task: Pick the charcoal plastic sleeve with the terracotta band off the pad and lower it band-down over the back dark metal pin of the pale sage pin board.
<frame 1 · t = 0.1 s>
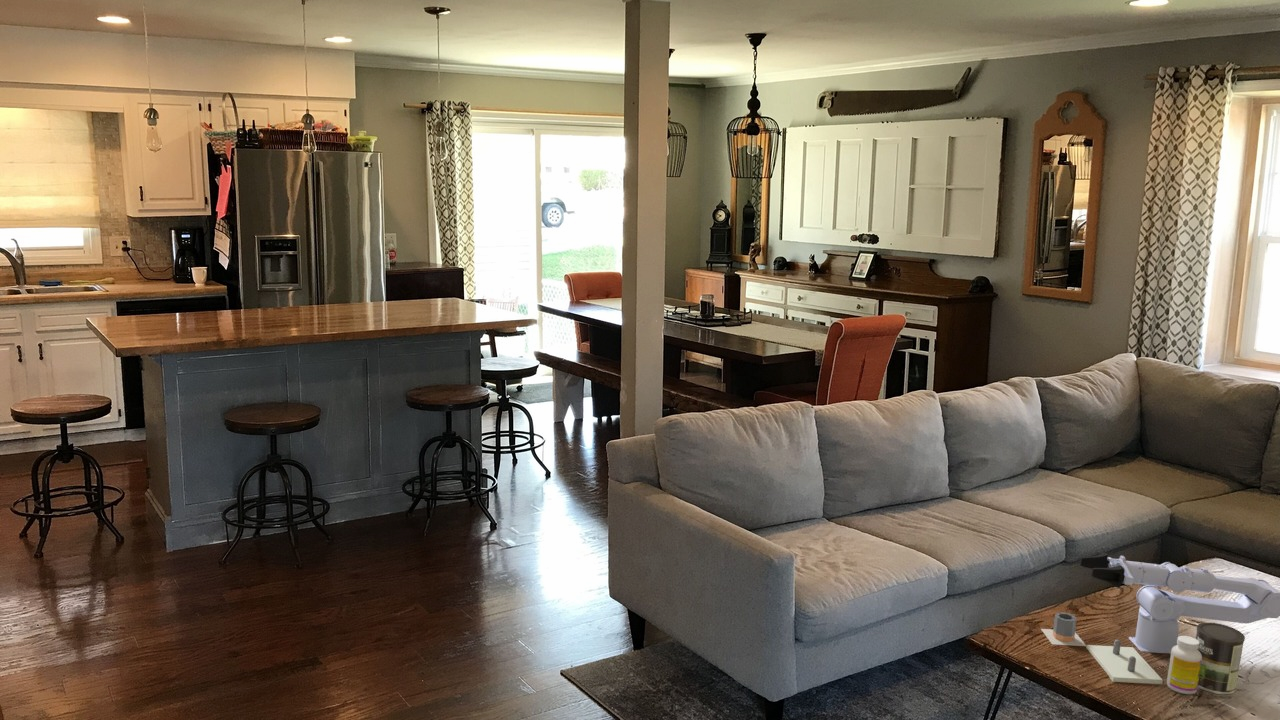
hand: (1086, 566, 263), 22 cm above the table, tool horizontal, fingers open, 7 cm apart
sleeve: (1063, 637, 269), resting on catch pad
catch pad: (1063, 638, 269), on the table
pin board: (1122, 666, 255), on the table
coffee can: (1212, 685, 247), on the table
supplement bottle: (1181, 689, 245), on the table
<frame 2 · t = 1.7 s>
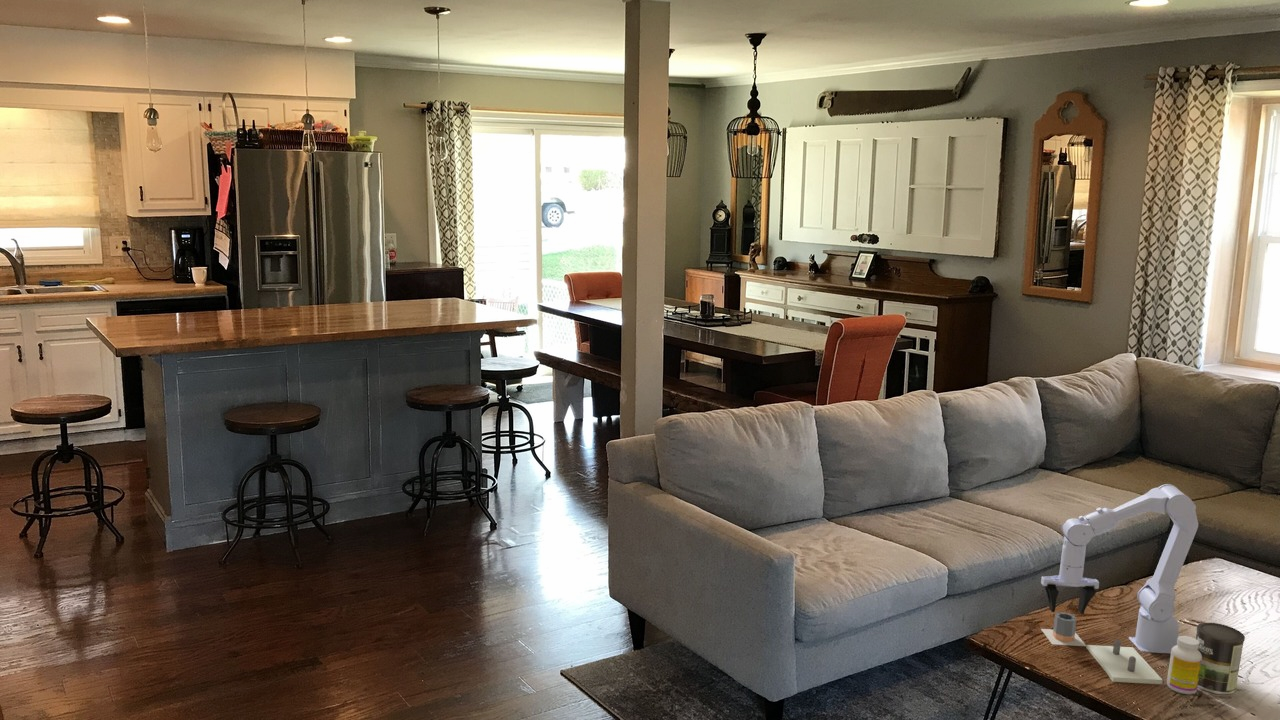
hand: (1066, 611, 267), 8 cm above the table, tool pointing down, fingers open, 7 cm apart
nothing on the table moved.
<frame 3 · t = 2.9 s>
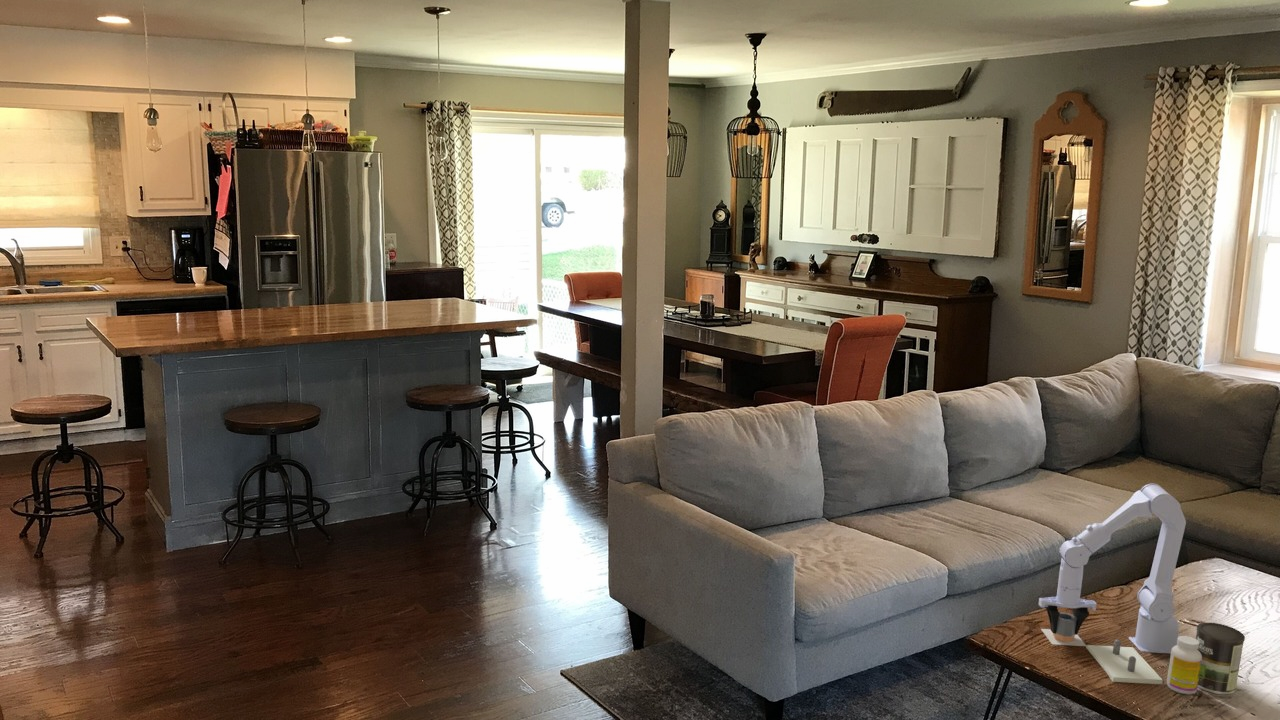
hand: (1063, 632, 269), 2 cm above the table, tool pointing down, fingers closed on sleeve, 5 cm apart
sleeve: (1063, 637, 269), resting on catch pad, touching gripper
everything else where it was.
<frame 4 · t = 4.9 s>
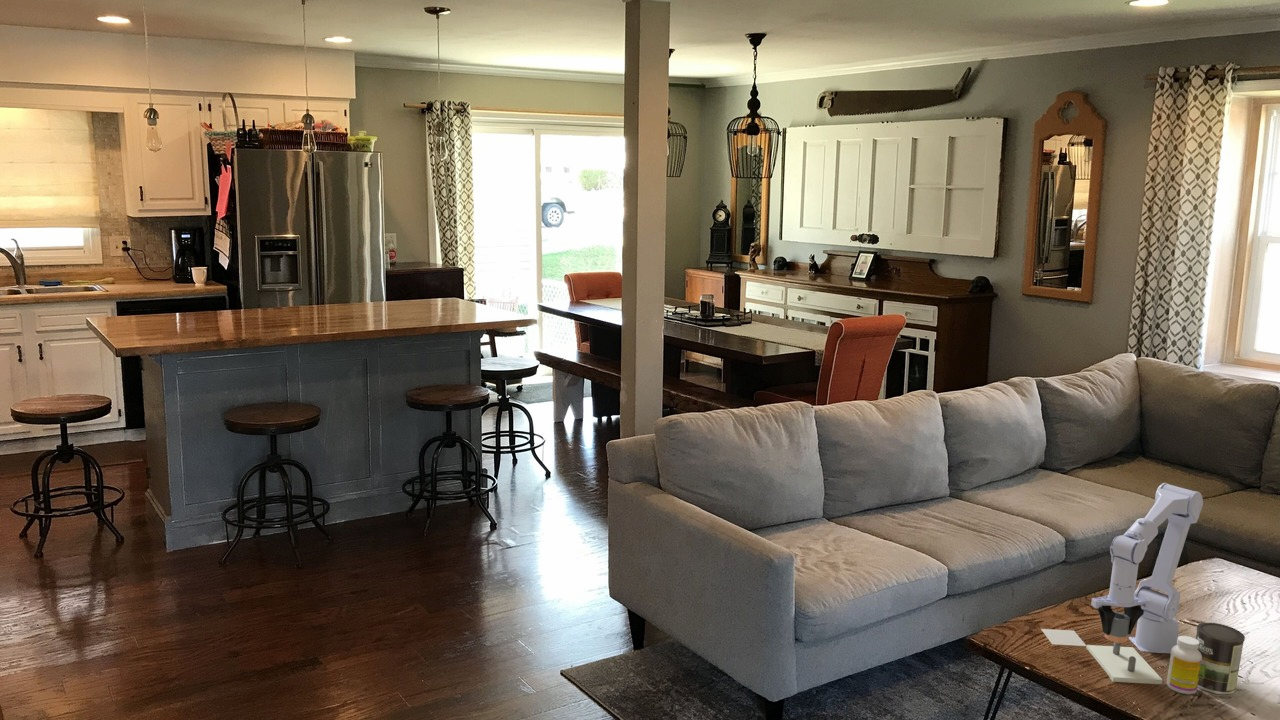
hand: (1116, 633, 253), 9 cm above the table, tool pointing down, fingers closed on sleeve, 5 cm apart
sleeve: (1115, 638, 254), point 8 cm above the table, touching gripper
everything else where it was.
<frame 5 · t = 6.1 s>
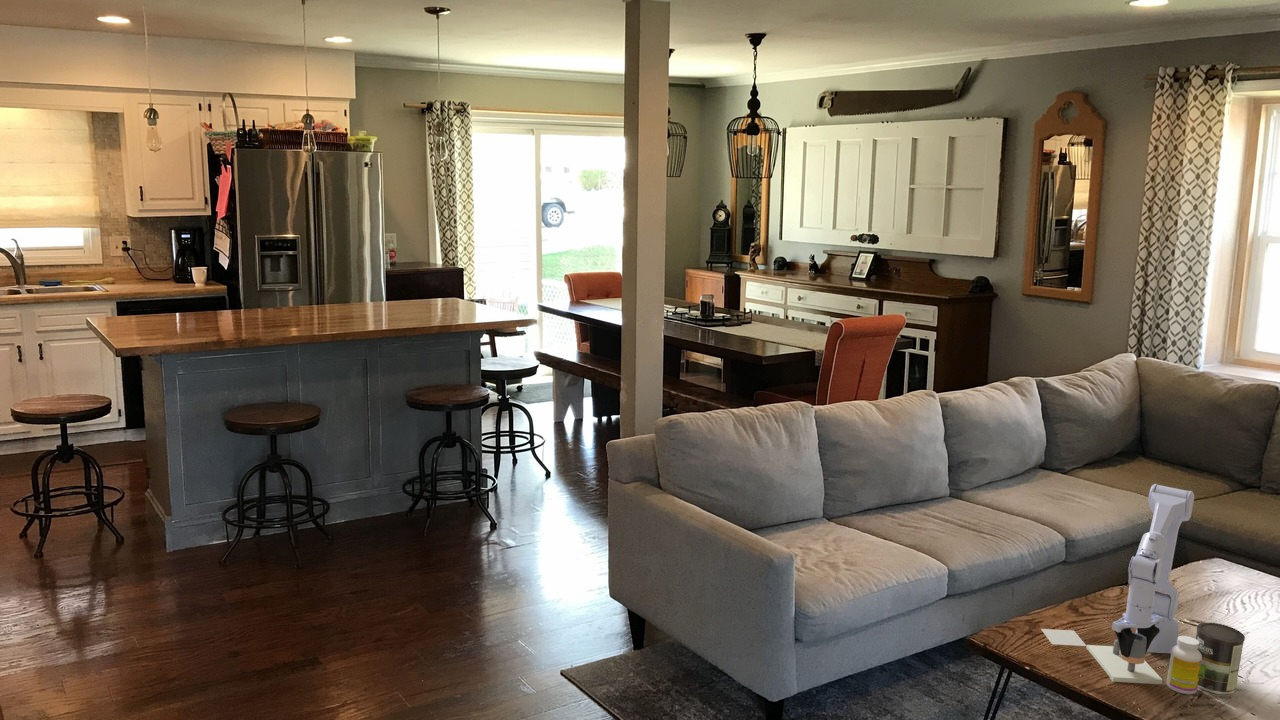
hand: (1133, 653, 249), 6 cm above the table, tool pointing down, fingers closed on sleeve, 5 cm apart
sleeve: (1132, 659, 250), point 4 cm above the table, touching gripper
everything else where it was.
when the fingers open (4 cm above the table, at t = 7.1 s): sleeve stays where it is, resting on pin board.
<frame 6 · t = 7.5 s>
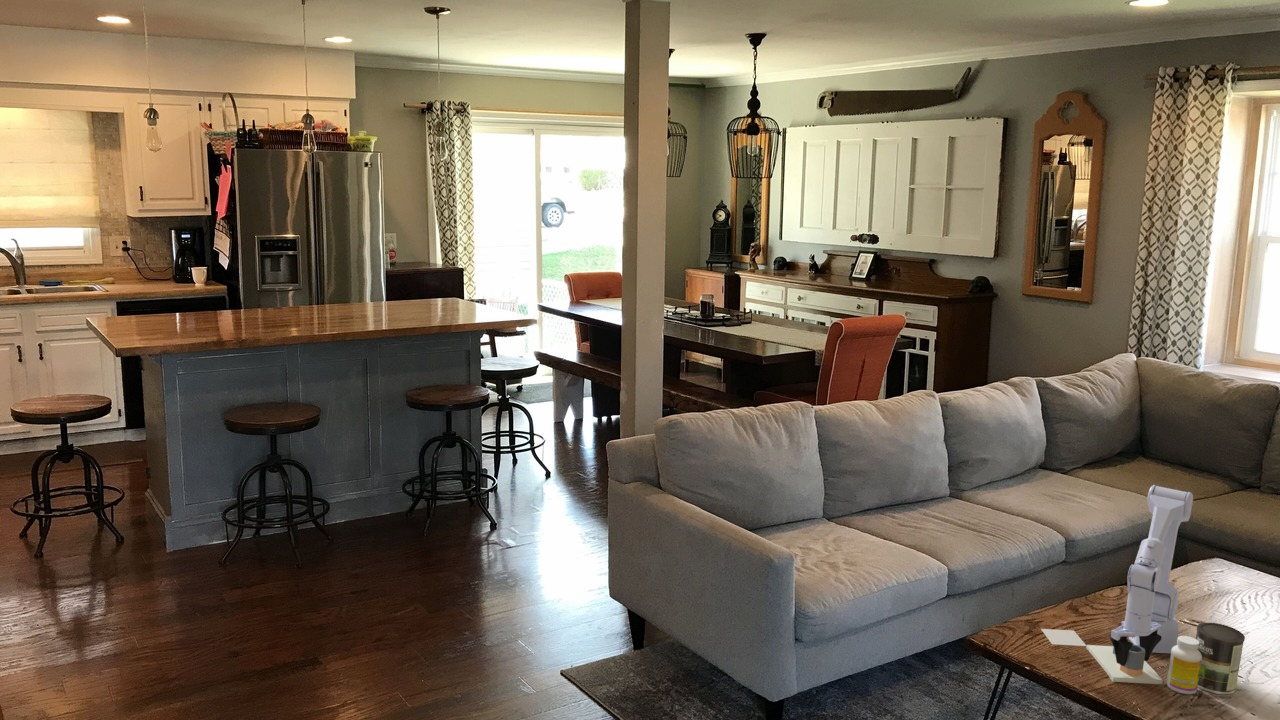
hand: (1132, 661, 250), 4 cm above the table, tool pointing down, fingers open, 7 cm apart
sleeve: (1130, 670, 250), point 1 cm above the table, touching pin board
everything else where it was.
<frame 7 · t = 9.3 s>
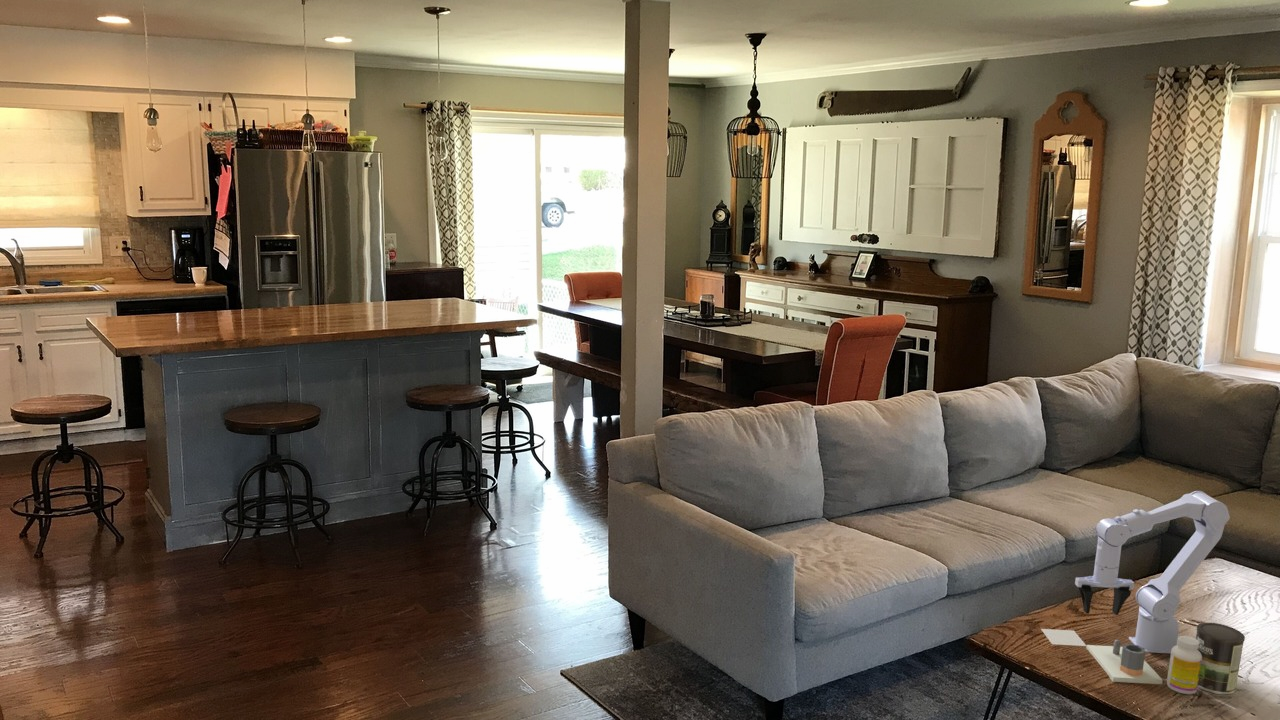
hand: (1100, 612, 264), 9 cm above the table, tool pointing down, fingers open, 7 cm apart
nothing on the table moved.
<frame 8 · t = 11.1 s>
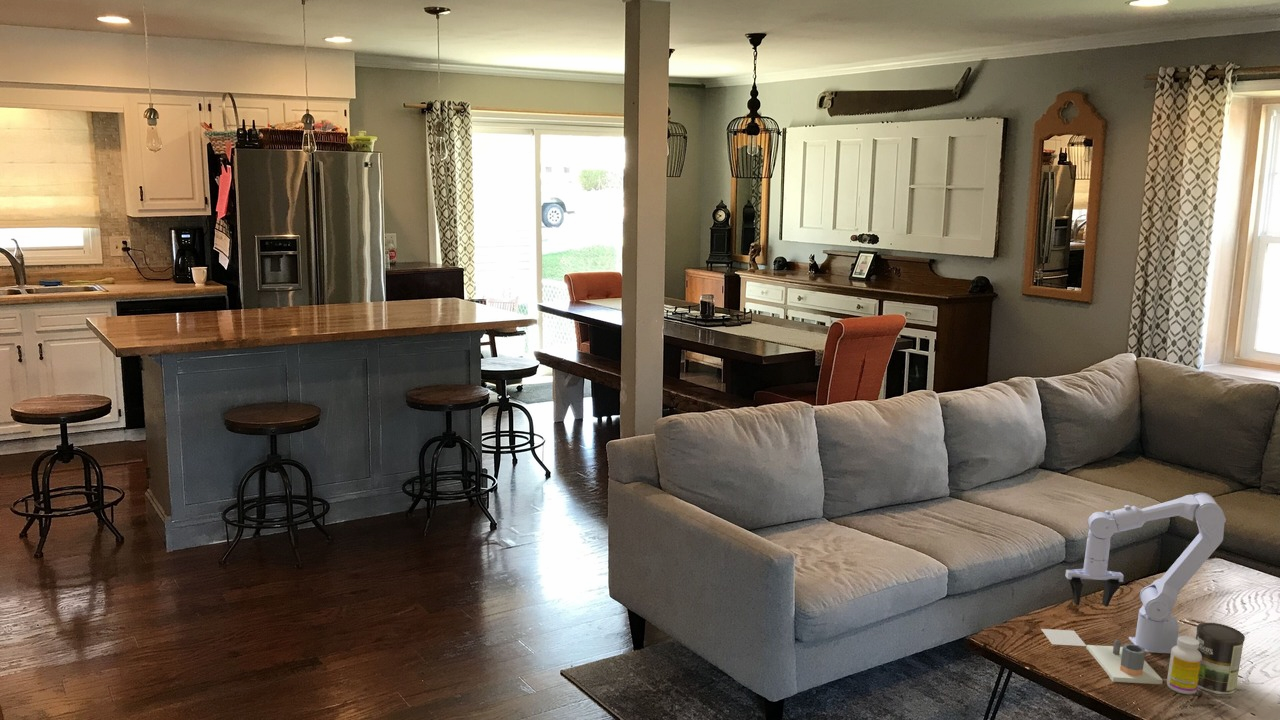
hand: (1090, 604, 269), 9 cm above the table, tool pointing down, fingers open, 7 cm apart
nothing on the table moved.
at the end: sleeve 0.0 cm from the target spot on the pin board, point 1.2 cm above the pin board's base; sleeve tilted 0°; the gripper is holding nothing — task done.
